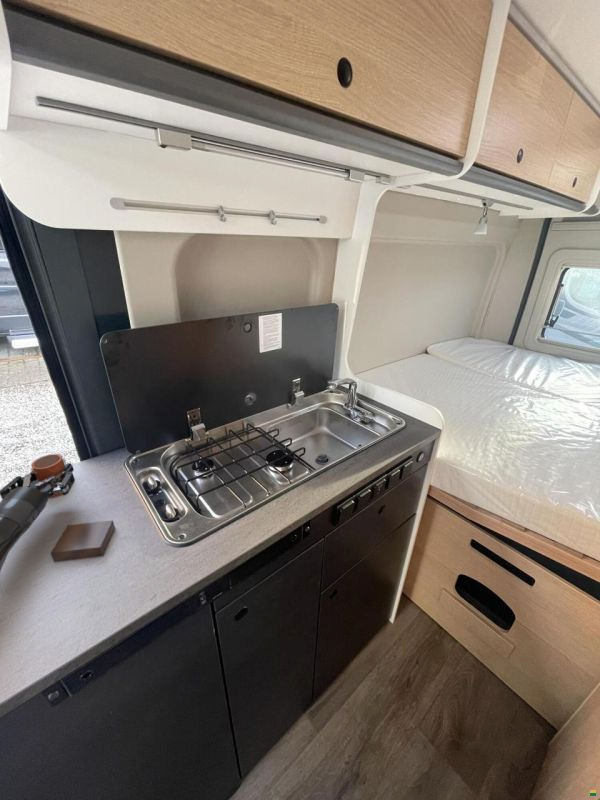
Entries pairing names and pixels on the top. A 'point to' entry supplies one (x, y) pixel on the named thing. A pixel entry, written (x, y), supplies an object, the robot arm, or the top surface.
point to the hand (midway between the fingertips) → (55, 467)
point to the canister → (48, 468)
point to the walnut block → (83, 541)
